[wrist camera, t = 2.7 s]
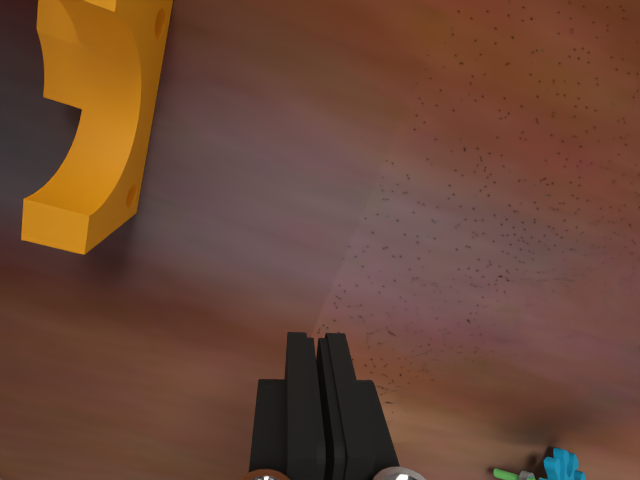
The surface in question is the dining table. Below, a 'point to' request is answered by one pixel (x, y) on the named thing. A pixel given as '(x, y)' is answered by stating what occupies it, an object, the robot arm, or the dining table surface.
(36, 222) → the pipe clamp
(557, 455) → the gear
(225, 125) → the dining table surface
